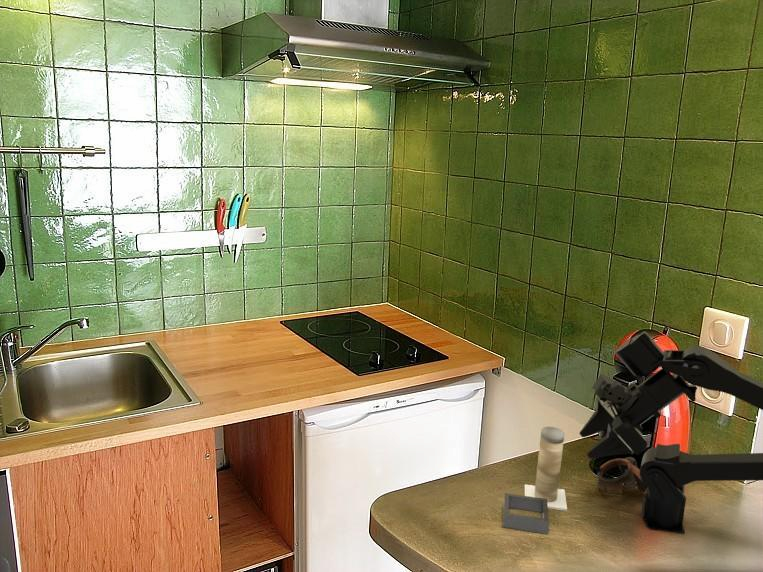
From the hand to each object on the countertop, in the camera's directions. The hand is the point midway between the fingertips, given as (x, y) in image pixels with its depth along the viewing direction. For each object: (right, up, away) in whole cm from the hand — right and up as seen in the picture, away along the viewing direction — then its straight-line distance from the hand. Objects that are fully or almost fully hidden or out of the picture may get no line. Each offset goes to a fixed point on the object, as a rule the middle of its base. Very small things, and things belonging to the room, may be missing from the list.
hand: (584, 445), depth 119 cm
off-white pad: (-6, -12, +7) cm, 15 cm away
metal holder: (-11, -14, -1) cm, 18 cm away
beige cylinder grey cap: (-6, -12, +7) cm, 15 cm away
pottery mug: (+11, -13, +10) cm, 20 cm away
